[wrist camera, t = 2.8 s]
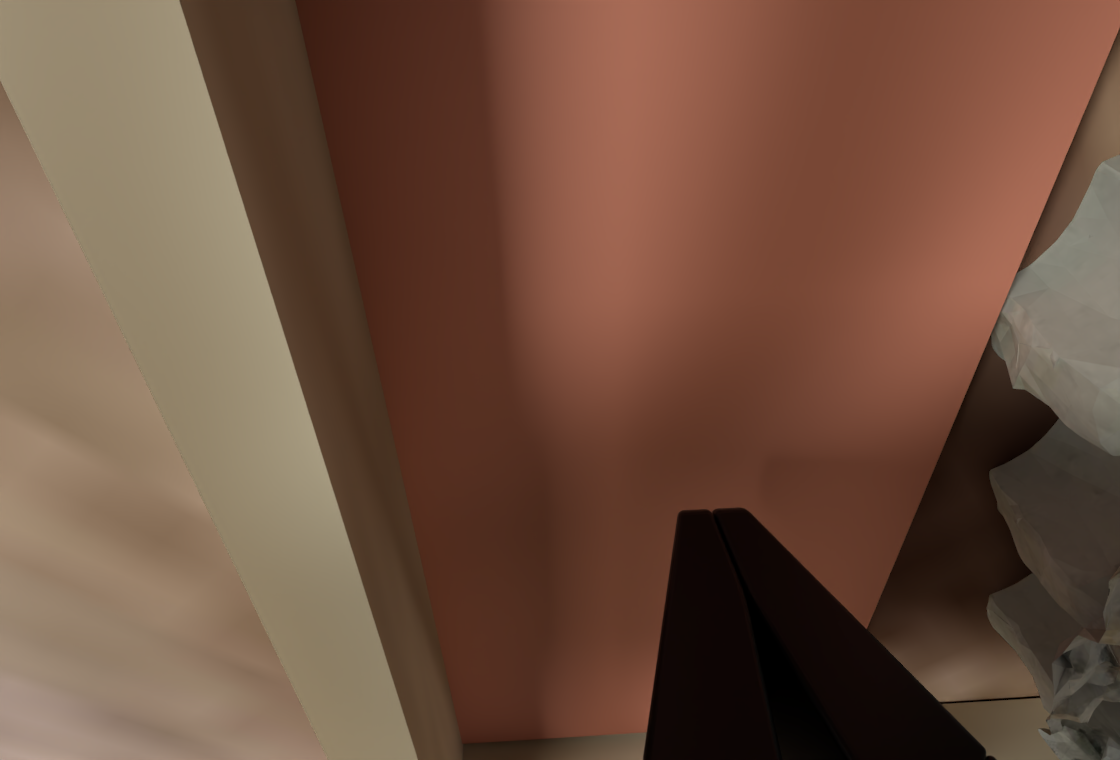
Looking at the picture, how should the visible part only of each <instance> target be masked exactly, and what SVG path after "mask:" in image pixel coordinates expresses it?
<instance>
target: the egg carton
mask: <svg viewBox="0 0 1120 760" xmlns="http://www.w3.org/2000/svg"><path fill="white" fill-rule="evenodd" d="M991 339H992V347H993V349H994V351H995V352H996V353H997V355H998V356H999V357H1000V358H1002V359H1003V360H1005V361H1006V365H1007V368H1008V372H1009V376H1010V379H1011V383H1012V387H1013V389H1024V390H1027V391H1028V392H1029V393H1031V394H1032V395H1034V396H1035V397H1037V398H1038V399H1039V400H1041V401H1042V402H1044V403H1045V404H1047V405H1048V406H1050V408H1051V409H1052V410H1053V411H1054V412H1055V414H1056V415H1057V416H1058V417H1059V419H1058V420H1057V422H1056V423H1055V424H1054V425H1053V426H1052V428H1051V429H1050V430H1049V431H1048V432H1047V434H1046V435H1045V436H1044V437H1043V438H1042V439H1040V440H1039V441H1038V442H1037V443H1036V444H1035V445H1034V446H1033V447H1032V448H1030V449H1029V450H1028V451H1026V452H1025V453H1023V454H1021V455H1019V456H1018V457H1016V458H1014V459H1013V460H1011V461H1009V462H1007V463H1005V464H1003V465H1001V466H998V467H996V468H993V469H991V470H990V471H989V478H990V482H991V486H992V489H993V491H994V494H995V497H996V500H997V509H998V510H999V512H1000V513H1001V514H1002V515H1003V516H1004V518H1005V520H1006V522H1007V524H1008V526H1009V528H1010V531H1011V534H1012V537H1013V540H1014V543H1015V545H1016V548H1017V551H1018V554H1019V556H1020V558H1021V559H1022V561H1023V562H1024V564H1025V565H1026V566H1027V567H1028V568H1029V569H1030V570H1031V571H1032V572H1033V573H1032V574H1030V575H1029V576H1027V577H1026V578H1024V579H1023V580H1021V581H1019V582H1018V583H1016V584H1014V585H1012V586H1010V587H1008V588H1005V589H1003V590H1001V591H998V592H995V593H993V594H991V595H990V596H989V601H988V605H987V608H986V609H987V616H988V618H989V621H990V623H991V625H992V626H993V628H994V629H995V630H996V631H997V632H998V633H999V634H1000V635H1001V636H1002V637H1003V638H1004V639H1005V641H1006V642H1007V643H1008V644H1009V645H1010V646H1011V647H1012V648H1013V649H1014V650H1015V651H1016V652H1017V654H1018V655H1019V657H1020V658H1021V660H1022V661H1023V663H1024V664H1025V666H1026V667H1027V669H1028V670H1029V672H1030V673H1031V675H1032V676H1033V679H1034V681H1035V684H1036V687H1037V689H1038V692H1039V695H1040V698H1041V701H1042V704H1043V707H1044V709H1045V710H1046V711H1047V712H1048V713H1049V714H1050V715H1049V717H1048V718H1047V719H1046V722H1047V724H1048V726H1049V729H1050V730H1049V729H1046V728H1039V729H1038V731H1039V733H1040V735H1041V736H1042V738H1043V739H1044V740H1045V742H1046V743H1047V744H1048V746H1049V747H1050V748H1051V749H1052V751H1053V752H1054V753H1055V754H1056V756H1057V757H1058V758H1059V760H1120V155H1117V156H1115V157H1113V158H1110V159H1108V160H1106V161H1103V162H1102V163H1101V164H1100V166H1099V167H1098V168H1097V170H1096V172H1095V174H1094V177H1093V179H1092V182H1091V184H1090V186H1089V188H1088V190H1087V192H1086V194H1085V196H1084V198H1083V201H1082V203H1081V205H1080V207H1079V209H1078V211H1077V213H1076V215H1075V217H1074V218H1073V220H1072V221H1071V223H1070V224H1069V225H1068V227H1067V228H1066V229H1065V231H1064V232H1063V233H1062V235H1061V236H1060V237H1059V239H1058V240H1057V241H1056V242H1055V243H1054V244H1053V245H1052V246H1051V247H1050V248H1049V249H1047V250H1046V251H1045V252H1044V253H1043V254H1042V255H1041V256H1040V257H1039V258H1038V259H1037V260H1036V261H1034V262H1033V263H1032V264H1031V265H1029V266H1028V267H1026V268H1025V269H1023V270H1021V271H1019V272H1018V273H1016V275H1015V278H1014V280H1013V283H1012V285H1011V287H1010V290H1009V292H1008V294H1007V297H1006V299H1005V302H1004V304H1003V306H1002V309H1001V311H1000V314H999V316H998V318H997V321H996V323H995V325H994V328H993V330H992V333H991Z"/></svg>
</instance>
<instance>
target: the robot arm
mask: <svg viewBox="0 0 1120 760" xmlns="http://www.w3.org/2000/svg"><path fill="white" fill-rule="evenodd" d="M643 760H997V759H996V758H995V757H993V756H991V755H988V756H986V749H985V748H984V747H983V746H982V745H981V744H980V743H979V742H978V741H977V740H976V739H975V738H974V737H973V736H972V735H971V734H970V733H969V732H968V731H967V730H966V729H965V728H964V727H963V726H962V725H961V724H960V723H959V722H958V721H957V720H956V719H955V718H954V716H953V715H952V714H951V713H950V712H949V711H948V710H947V709H946V708H945V707H944V706H943V705H942V704H941V703H940V702H939V701H938V700H937V699H936V698H935V697H934V696H933V695H932V694H931V693H930V692H929V691H928V690H927V689H926V688H925V687H924V686H923V685H922V684H921V683H920V682H919V681H918V680H917V679H916V678H915V677H914V676H913V675H912V674H911V673H910V672H909V671H908V670H907V669H906V668H905V667H904V666H903V665H902V664H901V663H900V662H899V661H898V660H897V659H896V658H895V657H894V656H893V655H892V654H891V653H890V652H889V651H888V650H887V649H886V648H885V647H884V646H883V645H882V644H881V643H880V642H879V641H878V640H877V639H876V638H875V637H874V636H873V635H872V634H871V633H870V632H869V631H868V630H867V629H866V628H865V627H864V626H863V625H862V624H861V623H860V622H859V621H858V620H857V619H856V618H855V617H854V616H853V615H852V614H851V613H850V612H849V611H848V610H847V609H846V608H845V607H844V606H843V605H842V604H841V603H840V602H839V601H838V600H837V599H836V598H835V597H834V596H833V595H832V594H831V593H830V592H829V591H828V590H827V589H826V588H825V587H824V586H823V585H822V584H821V583H820V582H819V581H818V580H817V579H816V578H815V577H814V576H813V575H812V574H811V573H810V572H809V571H808V570H807V569H806V568H805V567H804V566H803V565H802V564H801V563H800V562H799V561H798V560H797V559H796V558H795V557H794V556H793V555H792V554H791V553H790V552H789V551H788V550H787V549H786V548H785V547H784V546H783V545H782V544H781V543H780V542H779V541H778V540H777V539H776V538H775V537H774V536H773V535H772V534H771V533H770V532H769V531H768V530H767V529H766V528H765V527H764V526H763V525H762V524H761V523H760V522H759V521H758V520H757V519H756V518H755V517H754V516H753V515H752V514H751V513H750V512H749V511H748V510H746V509H745V508H741V507H737V508H717V509H714V510H713V511H712V512H711V511H709V510H708V509H697V510H682V511H680V512H679V513H678V515H677V522H676V529H675V536H674V543H673V550H672V557H671V564H670V571H669V578H668V585H667V592H666V599H665V606H664V613H663V620H662V627H661V634H660V642H659V649H658V656H657V663H656V670H655V677H654V684H653V691H652V698H651V705H650V712H649V719H648V726H647V733H646V740H645V747H644V754H643Z"/></svg>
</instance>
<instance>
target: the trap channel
mask: <svg viewBox="0 0 1120 760" xmlns="http://www.w3.org/2000/svg"><path fill="white" fill-rule="evenodd" d="M1119 28H1120V0H0V81H1V83H2V85H3V87H4V89H5V91H6V93H7V95H8V98H9V100H10V102H11V104H12V106H13V108H14V110H15V112H16V114H17V116H18V118H19V120H20V122H21V124H22V127H23V129H24V131H25V133H26V135H27V137H28V139H29V141H30V143H31V145H32V147H33V149H34V151H35V154H36V156H37V158H38V160H39V162H40V164H41V166H42V168H43V170H44V172H45V174H46V176H47V178H48V180H49V183H50V185H51V187H52V189H53V191H54V193H55V195H56V197H57V199H58V201H59V203H60V205H61V207H62V210H63V212H64V214H65V216H66V218H67V220H68V222H69V224H70V226H71V228H72V230H73V232H74V234H75V236H76V239H77V241H78V243H79V245H80V247H81V249H82V251H83V253H84V255H85V257H86V259H87V261H88V263H89V265H90V268H91V270H92V272H93V274H94V276H95V278H96V280H97V282H98V284H99V286H100V288H101V290H102V292H103V295H104V297H105V299H106V301H107V303H108V305H109V307H110V309H111V311H112V313H113V315H114V317H115V319H116V321H117V324H118V326H119V328H120V330H121V332H122V334H123V336H124V338H125V340H126V342H127V344H128V346H129V348H130V351H131V353H132V355H133V357H134V359H135V361H136V363H137V365H138V367H139V369H140V371H141V373H142V375H143V377H144V380H145V382H146V384H147V386H148V388H149V390H150V392H151V394H152V396H153V398H154V400H155V402H156V404H157V406H158V409H159V411H160V413H161V415H162V417H163V419H164V421H165V423H166V425H167V427H168V429H169V431H170V433H171V436H172V438H173V440H174V442H175V444H176V446H177V448H178V450H179V452H180V454H181V456H182V458H183V460H184V462H185V465H186V467H187V469H188V471H189V473H190V475H191V477H192V479H193V481H194V483H195V485H196V487H197V489H198V492H199V494H200V496H201V498H202V500H203V502H204V504H205V506H206V508H207V510H208V512H209V514H210V516H211V518H212V521H213V523H214V525H215V527H216V529H217V531H218V533H219V535H220V537H221V539H222V541H223V543H224V545H225V547H226V550H227V552H228V554H229V556H230V558H231V560H232V562H233V564H234V566H235V568H236V570H237V572H238V574H239V577H240V579H241V581H242V583H243V585H244V587H245V589H246V591H247V593H248V595H249V597H250V599H251V601H252V603H253V606H254V608H255V610H256V612H257V614H258V616H259V618H260V620H261V622H262V624H263V626H264V628H265V630H266V633H267V635H268V637H269V639H270V641H271V643H272V645H273V647H274V649H275V651H276V653H277V655H278V657H279V659H280V662H281V664H282V666H283V668H284V670H285V672H286V674H287V676H288V678H289V680H290V682H291V684H292V686H293V689H294V691H295V693H296V695H297V697H298V699H299V701H300V703H301V705H302V707H303V709H304V711H305V713H306V715H307V718H308V720H309V722H310V724H311V726H312V728H313V730H314V732H315V734H316V736H317V738H318V740H319V742H320V744H321V747H322V749H323V751H324V753H325V755H326V757H327V759H328V760H643V754H644V747H645V740H646V733H647V726H648V719H649V712H650V705H651V698H652V691H653V684H654V677H655V670H656V663H657V656H658V649H659V642H660V634H661V627H662V620H663V613H664V606H665V599H666V592H667V585H668V578H669V571H670V564H671V557H672V550H673V543H674V536H675V529H676V522H677V515H678V513H679V512H680V511H682V510H697V509H708V510H709V511H711V512H712V511H713V510H714V509H717V508H737V507H741V508H745V509H746V510H748V511H749V512H750V513H751V514H752V515H753V516H754V517H755V518H756V519H757V520H758V521H759V522H760V523H761V524H762V525H763V526H764V527H765V528H766V529H767V530H768V531H769V532H770V533H771V534H772V535H773V536H774V537H775V538H776V539H777V540H778V541H779V542H780V543H781V544H782V545H783V546H784V547H785V548H786V549H787V550H788V551H789V552H790V553H791V554H792V555H793V556H794V557H795V558H796V559H797V560H798V561H799V562H800V563H801V564H802V565H803V566H804V567H805V568H806V569H807V570H808V571H809V572H810V573H811V574H812V575H813V576H814V577H815V578H816V579H817V580H818V581H819V582H820V583H821V584H822V585H823V586H824V587H825V588H826V589H827V590H828V591H829V592H830V593H831V594H832V595H833V596H834V597H835V598H836V599H837V600H838V601H839V602H840V603H841V604H842V605H843V606H844V607H845V608H846V609H847V610H848V611H849V612H850V613H851V614H852V615H853V616H854V617H855V618H856V619H857V620H858V621H859V622H860V623H861V624H862V625H863V626H864V627H865V628H866V629H867V627H868V625H869V622H870V620H871V618H872V615H873V613H874V611H875V608H876V606H877V603H878V601H879V599H880V596H881V594H882V592H883V589H884V587H885V584H886V582H887V580H888V577H889V575H890V573H891V570H892V568H893V565H894V563H895V561H896V558H897V556H898V554H899V551H900V549H901V546H902V544H903V542H904V539H905V537H906V535H907V532H908V530H909V527H910V525H911V523H912V520H913V518H914V516H915V513H916V511H917V508H918V506H919V504H920V501H921V499H922V497H923V494H924V492H925V489H926V487H927V485H928V482H929V480H930V478H931V475H932V473H933V470H934V468H935V466H936V463H937V461H938V458H939V456H940V454H941V451H942V449H943V447H944V444H945V442H946V439H947V437H948V435H949V432H950V430H951V428H952V425H953V423H954V420H955V418H956V416H957V413H958V411H959V409H960V406H961V404H962V401H963V399H964V397H965V394H966V392H967V390H968V387H969V385H970V382H971V380H972V378H973V375H974V373H975V371H976V368H977V366H978V363H979V361H980V359H981V356H982V354H983V352H984V349H985V347H986V344H987V342H988V340H989V337H990V335H991V333H992V330H993V328H994V325H995V323H996V321H997V318H998V316H999V314H1000V311H1001V309H1002V306H1003V304H1004V302H1005V299H1006V297H1007V294H1008V292H1009V290H1010V287H1011V285H1012V283H1013V280H1014V278H1015V275H1016V273H1017V271H1018V268H1019V266H1020V264H1021V261H1022V259H1023V256H1024V254H1025V252H1026V249H1027V247H1028V245H1029V242H1030V240H1031V237H1032V235H1033V233H1034V230H1035V228H1036V226H1037V223H1038V221H1039V218H1040V216H1041V214H1042V211H1043V209H1044V207H1045V204H1046V202H1047V199H1048V197H1049V195H1050V192H1051V190H1052V188H1053V185H1054V183H1055V180H1056V178H1057V176H1058V173H1059V171H1060V169H1061V166H1062V164H1063V161H1064V159H1065V157H1066V154H1067V152H1068V150H1069V147H1070V145H1071V142H1072V140H1073V138H1074V135H1075V133H1076V130H1077V128H1078V126H1079V123H1080V121H1081V119H1082V116H1083V114H1084V111H1085V109H1086V107H1087V104H1088V102H1089V100H1090V97H1091V95H1092V92H1093V90H1094V88H1095V85H1096V83H1097V81H1098V78H1099V76H1100V73H1101V71H1102V69H1103V66H1104V64H1105V62H1106V59H1107V57H1108V54H1109V52H1110V50H1111V47H1112V45H1113V43H1114V40H1115V38H1116V35H1117V33H1118V31H1119ZM942 705H943V706H944V707H945V708H946V709H947V710H948V711H949V712H950V713H951V714H952V715H953V716H954V718H955V719H956V720H957V721H958V722H959V723H960V724H961V725H962V726H963V727H964V728H965V729H966V730H967V731H968V732H969V733H970V734H971V735H972V736H973V737H974V738H975V739H976V740H977V741H978V742H979V743H980V744H981V745H982V746H983V747H984V748H985V749H986V756H988V755H991V756H993V757H995V758H996V759H997V760H1059V758H1058V757H1057V756H1056V754H1055V753H1054V752H1053V751H1052V749H1051V748H1050V747H1049V746H1048V744H1047V743H1046V742H1045V740H1044V739H1043V738H1042V736H1041V735H1040V733H1039V731H1038V729H1039V728H1046V729H1049V726H1048V724H1047V722H1046V719H1047V718H1048V717H1049V715H1050V714H1049V713H1048V712H1047V711H1046V710H1045V709H1044V707H1043V704H1042V701H1041V698H1032V699H1016V700H1000V701H984V702H968V703H952V704H942ZM1049 730H1050V729H1049Z"/></svg>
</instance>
